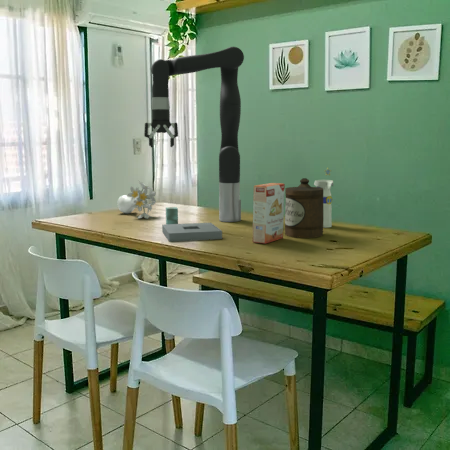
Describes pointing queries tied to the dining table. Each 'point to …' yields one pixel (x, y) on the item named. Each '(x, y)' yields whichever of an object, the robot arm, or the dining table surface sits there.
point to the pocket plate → (191, 231)
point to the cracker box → (268, 212)
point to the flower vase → (137, 200)
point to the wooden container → (304, 211)
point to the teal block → (171, 215)
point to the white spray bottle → (326, 199)
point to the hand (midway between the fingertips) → (161, 147)
